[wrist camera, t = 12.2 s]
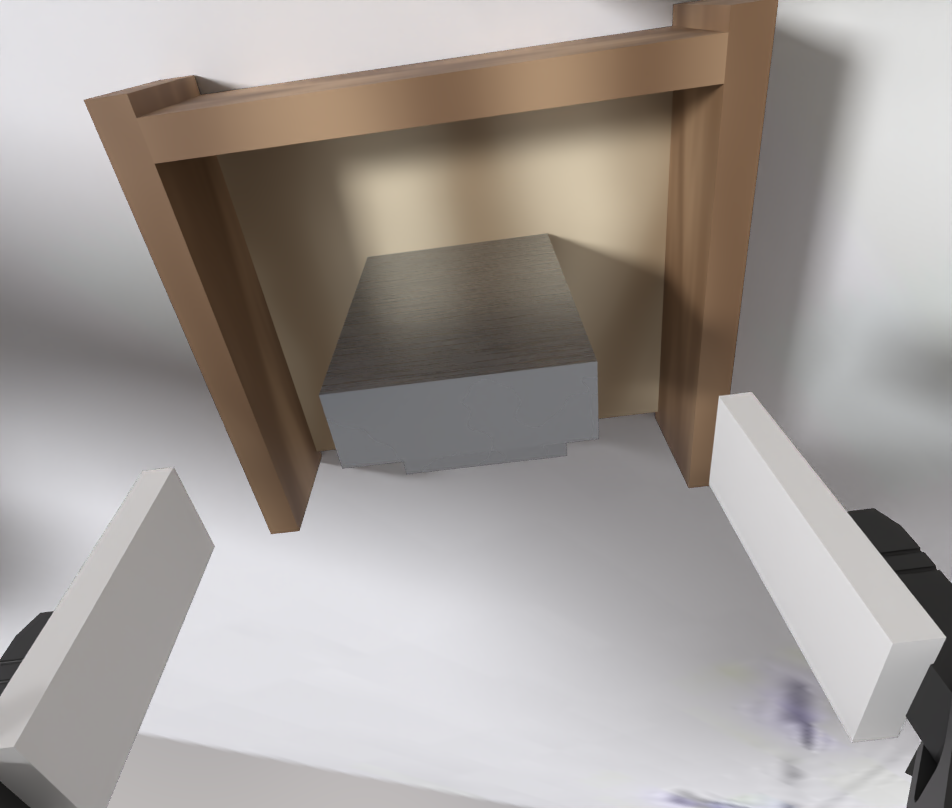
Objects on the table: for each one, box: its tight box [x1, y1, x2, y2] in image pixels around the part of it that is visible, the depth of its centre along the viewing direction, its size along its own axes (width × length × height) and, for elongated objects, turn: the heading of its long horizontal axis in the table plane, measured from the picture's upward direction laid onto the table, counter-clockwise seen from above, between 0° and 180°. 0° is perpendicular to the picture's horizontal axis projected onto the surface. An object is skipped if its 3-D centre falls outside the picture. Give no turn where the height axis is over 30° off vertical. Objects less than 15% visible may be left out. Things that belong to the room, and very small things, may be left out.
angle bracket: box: [319, 233, 599, 474], centre depth 22 cm, size 9×7×10 cm
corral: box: [84, 0, 778, 534], centre depth 23 cm, size 18×16×5 cm
